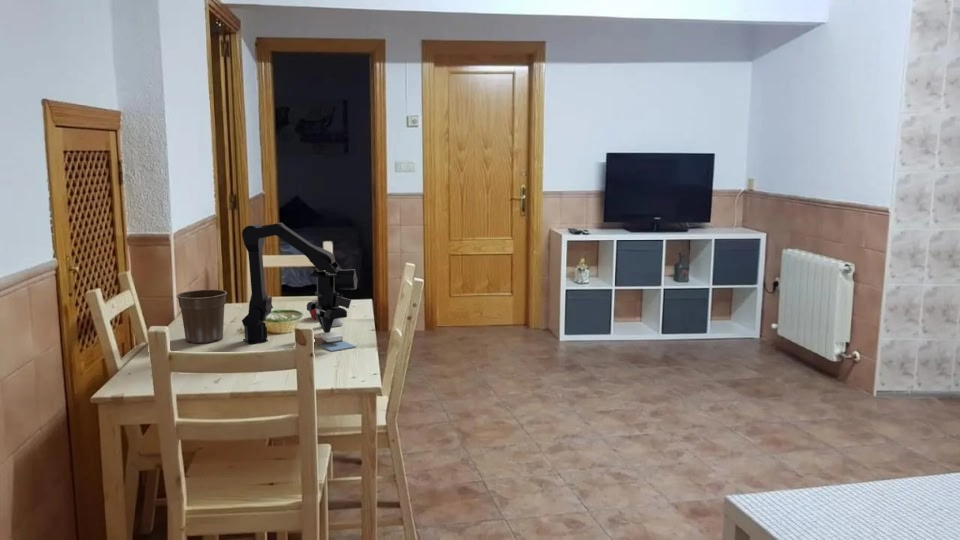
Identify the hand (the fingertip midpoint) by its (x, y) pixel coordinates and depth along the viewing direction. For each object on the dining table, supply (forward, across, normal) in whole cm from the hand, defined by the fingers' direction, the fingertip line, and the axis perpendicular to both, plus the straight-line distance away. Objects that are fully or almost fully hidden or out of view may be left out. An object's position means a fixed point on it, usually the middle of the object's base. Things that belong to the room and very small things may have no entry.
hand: (327, 334), depth 257 cm
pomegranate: (+3, +34, -15) cm, 38 cm away
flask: (+3, +22, -13) cm, 25 cm away
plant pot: (+3, +29, +32) cm, 43 cm away
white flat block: (+1, -4, 0) cm, 4 cm away
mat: (+3, -8, 0) cm, 8 cm away
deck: (+3, +1, 0) cm, 3 cm away
